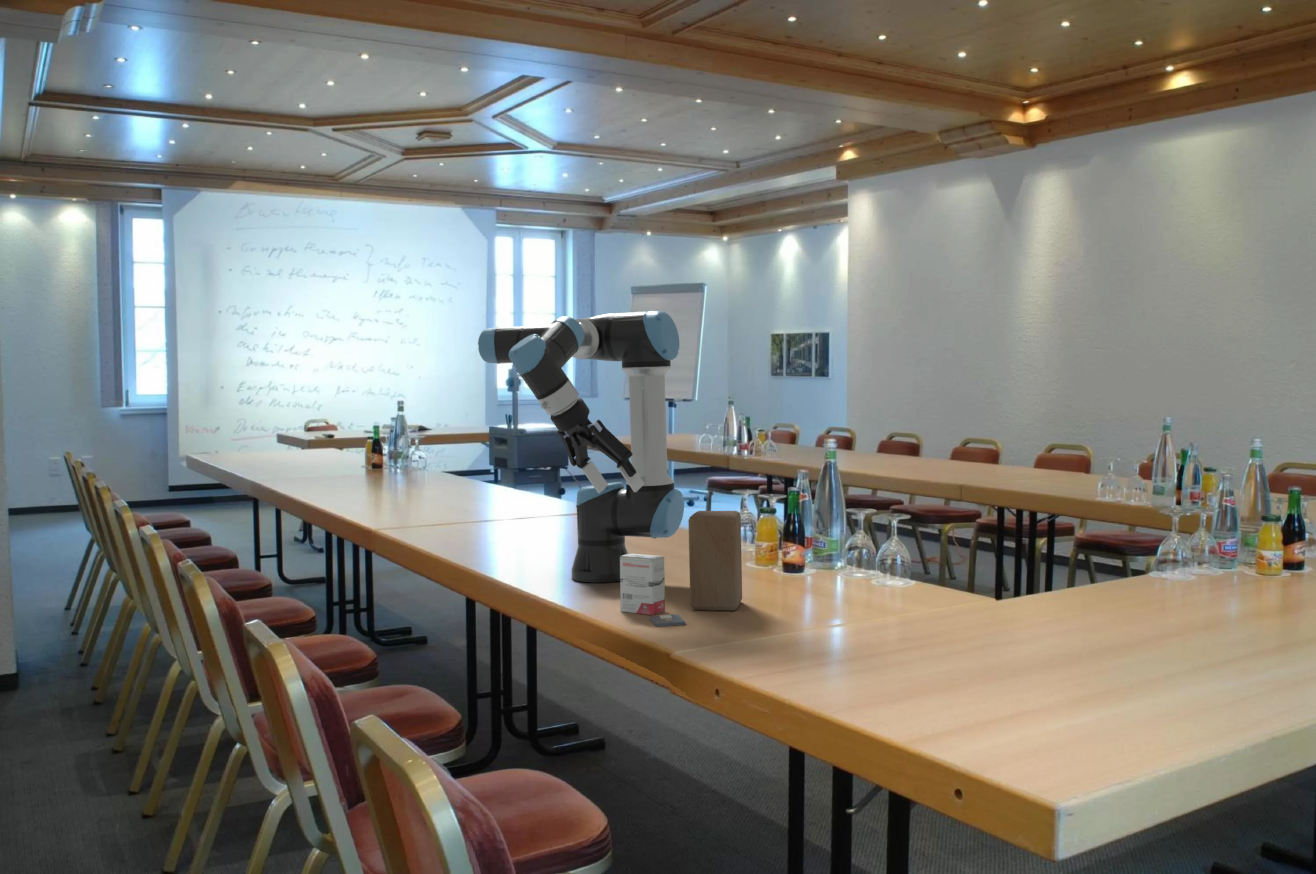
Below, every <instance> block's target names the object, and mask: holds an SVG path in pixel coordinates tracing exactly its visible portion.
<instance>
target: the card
mask: <svg viewBox="0 0 1316 874" xmlns="http://www.w3.org/2000/svg"><path fill="white" fill-rule="evenodd" d="M648 617H649V620H650V621H651V623H652V624H653V625H654V627H657V628H659V627H672V626H673V627H675V626H684V625H685V626H686V623H687V622H686V620H684V618H682V616H681V615H680V614H678V613H675V614H673V613H672V614H659V615H658V614H656V615H648Z"/></svg>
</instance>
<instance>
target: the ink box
mask: <svg viewBox="0 0 1316 874" xmlns="http://www.w3.org/2000/svg"><path fill="white" fill-rule="evenodd" d="M665 583H666V582H665V556H664V555H655V554H654V555H652V554H642V553H641V554H639V553H628V554H625V555H622V556H620V581H619V584H620V585H619V586H620V587H619V588H620V590H619V591H620V592H619V594H620V595H619V597H620V612H622V613H630V614H641V615H648V616H656V615H658V614H660V613H662V612H665V610H666V609H665V608H666V605H665V604H666V602H665V601H666V599H665V598H666V597H665V596H666V591H665V590H666V588H665V585H666V584H665Z"/></svg>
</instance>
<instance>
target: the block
mask: <svg viewBox="0 0 1316 874" xmlns="http://www.w3.org/2000/svg"><path fill="white" fill-rule="evenodd" d="M741 517H742V515H741V513H740V512H739V511H737V510H698V511H696V512H694V513H693V514H691V516H689V517H688V521H687V522H688V558H689V559H688V561H689V600H690V602H689V603H690V607H691V609H692V610H694V611H717V612H718V611H719V612H722V611H723V612H726V611H727V612H733V611H735V610H737V609H738V608H739V606H740V604H741V602H742V600H743V579H742V578H743V575H742V574H743V571H742V570H743V569H742V566H743V565H742V522H741V521H742V518H741Z"/></svg>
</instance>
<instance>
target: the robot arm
mask: <svg viewBox="0 0 1316 874" xmlns="http://www.w3.org/2000/svg"><path fill="white" fill-rule="evenodd" d="M477 340H478V341H477V345H478V348H477V349H478V353H479V356H480V357H481V359H482V360H483V361H484V362H485V363H487V364H488V363H489V364H497V365H499V364H512V365H513V367H514V368H515V371H516V373H517V374H519V376H520V377H521V378H522V380H523V382H524V383H525V384H526V385H527V387H528V388H529V390H530V391H531V392H532V394H534V397H535V399H536V400H537V401H538V403H539V404H540V408H541V409H543V410H544V411H545V413H546V414H547V415H549V416H550V421H552V424H554V427H556V429H557V434H558V435H559V437H560V438H561V441H562V444H563V446H564V448H565V452H566V454H567V456H568V459H569V462H570V464H571V466H573V467H576V466H577V468H578V469H581V471H582V472H583V473H584V475H585V476H586V478H587V479H588V481H589V482H590V483H591V485H587V486H583V487H581V488H579V489H578V491H577V492H576V504H575V508H576V520H577V521H576V525H577V526H576V527H577V528H576V529H577V550H576V553H575V557H574V560H573V564H572V567H571V579H572V580H573V581H575V582H581V583H582V582H583V583H597V584H599V583H613V582H620V556H622V555H625V554H629V553H628V551H627V550H628V549H627V548H626V537H633V538H634V537H637V538H650V539H651V538H652V539H661V538H662V539H666V538H670V537H672V536H674V535H675V534H676V533H677V532H678V529H679V528H680V526H681V523H682V521H683V517H684V512H685V511H684V510H685V499H684V497H683V496H684V495H683V493H682V491H680V490H678V489H677V488H675V480H674V479H673V478H671V476H669V472H668V448H667V446H668V445H667V444H668V442H667V411H666V384H665V383H666V382H665V380H666V379H665V375H666V373H667V372H668V371H669V370H670V369H671V361H673V360H674V359H676V358H677V357H678V355H679V351H680V335H679V331H678V329H677V325H676V323H675V321H674V320H673V318H672V317H671V315H669V314H668V313H667V312H665V311H661V310H643V311H642V310H640V311H630V312H627V311H626V312H625V311H624V312H610V313H604V314H599V315H594V316H589V317H583V318H576V319H575V318H573V317H571V316H563V315H562V316H560V317H558V318H557V319H555V320H553V321H552V322H551V323H550V324H541V325H539V324H537V325H523V326H521V325H520V326H508V327H507V326H506V327H505V326H504V327H503V326H501V327H498V326H495V327H490V328H485V329H483V330H482V331H481V332H480V333H479V336H478V339H477ZM571 358H574V359H577V360H594V361H597V360H598V361H606V362H621V370H622V371H623V372H625V374H626V375H627V376H628V393H629V394H628V396H629V400H628V401H629V424H630V425H629V427H630V428H629V429H630V449H628V447H627V446H626V445H624V443H623V442H621V441H620V439H618V438H617V437H616V435H614V434H613V433H612V432H610V430H609V429H607V428H606V426H605V425H604V423H603V422H602V421H601V420H600V419H596V421H594V422H592V421H591V419H589V415H590V412H591V411H590V408H589V407H588V405H587V404H586V402H585V401H584V399H583V398H582V397H580V396H579V392H578V391H577V388H575V385H574V384H573V383H572V382H571V380H570V378H569V377H568V376H567V374H566V373H565V372H564V370H563V368H564V366H565V365H566V363H567V362H568V361H570V360H571ZM588 446H589V447H591V448H592V449H594V448H595V449H596V450H598V451H600V452H601V453H603V454H604V455H605V456H606V457H608V458H609V459H610V460H611V461H613V462H614V463H616V468H617V470H619V472H620V473H621V475H622V477H623V478H624V480H625V481H626V482H625V485H624V482H622V481H617V482H616V481H615V482H607V480H606V479H605V478H604V477H603V475H602V473H601V472H600V470H599V469H598V468H597V466H596V465H595V463H594V462H593V461H592V457H589V455H588ZM630 458H631V461H630Z"/></svg>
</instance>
